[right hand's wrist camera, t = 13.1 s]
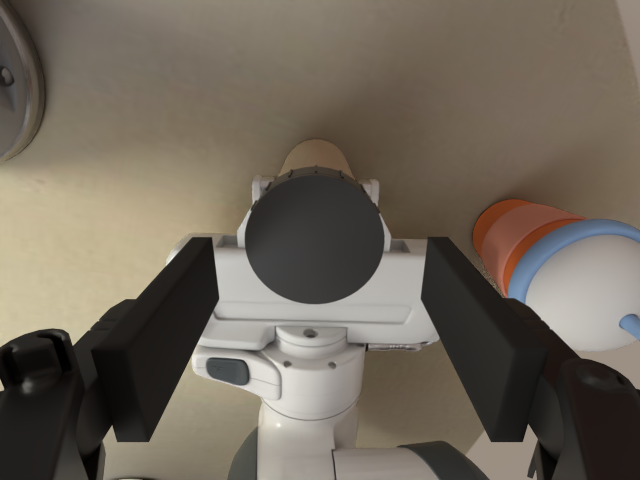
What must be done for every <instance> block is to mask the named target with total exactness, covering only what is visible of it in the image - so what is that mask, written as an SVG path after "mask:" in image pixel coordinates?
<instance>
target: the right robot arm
mask: <svg viewBox="0 0 640 480" xmlns="http://www.w3.org/2000/svg"><path fill="white" fill-rule="evenodd" d="M44 101H45V89H44V79H43V74H42V68H41V65H40V61H39V58H38V55H37V52H36V49H35V46H34V44H33V42H32V40H31V38H30V35H29V34H28V32H27V30H26V28H25V26H24V24H23V23H22V21H21V20H20V18H19V16H18V15H17V13H16V12H15V11H14V9H13V8H12V7H11V5H10V4H9V2H8V1H7V0H0V163H1V162H4V161H6V160H8V159H10V158H12V157H14V156H15V155H17V154H18V153H20V152H21V151H22V150H23V149H24V148H25V147H26V146H27V145H28V144H29V143H30V141H31V140H32V138H33V137H34V135H35V134H36V132H37V130H38V128H39V125H40V122H41V119H42V115H43V110H44ZM219 299H220V298H219V290H218V282H217V273H216V265H215V257H214V249H213V240H212V237H192V238H191V239H190V240H189V241H188V242H187V243H186V244H185V246H184V247H183V248H182V249H181V250H180V251H179V252H178V253H177V254H176V256H175V257H174V258H173V259H172V260H171V261H170V262H169V263H168V264H167V266H166V267H165V268H164V269H163V270H162V271H161V272H160V273H159V274H158V276H157V277H156V278H155V279H154V280H153V281H152V282H151V283H150V284H149V285H148V287H147V288H146V289H145V290H144V291H143V292H142V293H141V294H140V295H139V297H138V298H137V299H125V300H124V301H122V302H120V303H119V304H117V305H115V306H113V307H112V308H110V309H109V310H108V311H107V312H106V313H105V314H104V315H103V316H102V317H101V318H100V319H99V321H97V322H96V323H95V324H94V325H93V326H92V327H91V330H90V331H87V332H86V333H85V334H84V335H83V336H82V337H81V338H80V340H79V341H78V342H77V343H76V344H75V345H74V346H72V343H71V339H70V336H69V333H67V332H66V331H64V330H61V329H45V330H38V331H35V332H31V333H28V334H24V335H22V336H20V337H18V338H15V339H13V340H11V341H9V342H8V343H6V344H5V345H3V346H2V347H0V379H1V382H2V384H3V386H4V391H0V480H103V474H104V465H105V456H106V453H105V447H104V444H103V441H102V440H103V438H104V437H105V435H106V434H107V432H108V430H109V429H110V427H111V426H112V425H113V429H114V432H115V436H116V439H117V442H149V441H150V439H151V437H152V435H153V433H154V430H155V428H156V426H157V424H158V422H159V420H160V418H161V416H162V414H163V412H164V410H165V408H166V406H167V404H168V402H169V400H170V398H171V396H172V394H173V392H174V390H175V388H176V386H177V384H178V382H179V380H180V378H181V376H182V374H183V372H184V370H185V368H186V366H187V364H188V362H189V360H190V358H191V356H192V354H193V352H194V349H195V347H196V345H197V343H198V341H199V339H200V337H201V335H202V333H203V331H204V329H205V327H206V325H207V323H208V321H209V319H210V317H211V315H212V313H213V311H214V309H215V307H216V305H217V303H218V301H219ZM420 299H421V301H422V303H423V305H424V307H425V309H426V311H427V313H428V315H429V317H430V319H431V321H432V323H433V325H434V327H435V329H436V331H437V333H438V335H439V337H440V339H441V341H442V343H443V345H444V347H445V349H446V352H447V354H448V356H449V358H450V360H451V362H452V364H453V366H454V368H455V370H456V372H457V374H458V376H459V378H460V380H461V382H462V384H463V386H464V388H465V390H466V392H467V394H468V396H469V398H470V400H471V402H472V404H473V406H474V408H475V410H476V412H477V414H478V416H479V418H480V420H481V422H482V424H483V426H484V428H485V430H486V433H487V435H488V437H489V439H490V441H491V442H523V439H524V436H525V432H526V429H527V425H528V424H529V425H530V427H531V428H532V430H533V432H534V433H535V435H536V436H537V438H538V441H537V444H536V447H535V450H534V453H533V457H532V460H531V463H530V466H529V470H528V475H527V476H528V477H530V478H533V476H534V473H535V470H536V473H537V480H640V390H639V389H636V388H635V387H634V386H633V384H632V383H631V382H630V381H629V379H627V378H626V377H625V376H623V375H622V374H621V373H619V372H618V371H616V370H614V369H612V368H611V367H609V366H607V365H605V364H602V363H599V362H596V361H593V360H589V359H582V358H580V357H579V356H578V355H577V354H576V353H575V352H574V351H573V350H572V349H571V348H570V347H569V346H568V345H567V344H566V343H565V342H564V341H563V340H562V339H561V338H560V337H559V336H558V335H557V334H556V333H555V332H554V331H553V330H552V329H550V327H549V326H548V325H547V324H546V323H545V322H544V321H543V320H541V318H540V317H539V316H538V315H537V314H536V313H535V312H534V311H533V310H532V309H531V308H530V307H529V306H527V305H525V304H524V303H522V302H520V301H519V300H517V299H515V298H502V297H501V295H500V294H499V293H498V292H497V291H496V290H495V289H494V288H493V287H492V285H491V284H490V283H489V282H488V281H487V280H486V279H485V278H484V277H483V276H482V274H481V273H480V272H479V271H478V270H477V269H476V268H475V267H474V266H473V264H472V263H471V262H470V261H469V260H468V259H467V258H466V257H465V256H464V254H463V253H462V252H461V251H460V250H459V249H458V248H457V247H456V246H455V244H454V243H453V242H452V241H451V240H450V239H449V238H448V237H428V240H427V249H426V257H425V265H424V273H423V282H422V290H421V298H420Z"/></svg>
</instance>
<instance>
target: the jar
mask: <svg viewBox="0 0 640 480" xmlns="http://www.w3.org/2000/svg"><path fill="white" fill-rule="evenodd" d="M315 165H317V167H326V168H331V169H335V170H338V171H340V170H342V172H343V173H345V174H347V175H348V176H350V177H351V178H353V179H354V177H353V175H352V172H351V170H350V168H349V165H348V163H347V161H346V158H345V156H344V154H343V153H342V152H341V150H340V149H339V148H338V147H336V146H335V145H334V144H332V143H330V142H328V141H325V140H321V139H311V140H307V141H304V142H301V143H300V144H298V145H297V146H295V147H294V148H293V149H292V150H291V152H290V153H289V155H288V156H287V158H286V160H285V162H284V165H283V167H282V169H281V171H280V173H279V175H278V177H279V176H281V175H283V174H285V173H287V172H289V171H290V169H293V170H294V169H298V168H302V167H311V166H315ZM278 177H277V178H278ZM354 180H355V179H354Z"/></svg>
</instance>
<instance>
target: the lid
mask: <svg viewBox="0 0 640 480" xmlns="http://www.w3.org/2000/svg"><path fill="white" fill-rule="evenodd" d="M250 211H252V212H251V213H250V216H249V218H248V221H247V224H246V229H245V239H244V240H245V250H246V255H247V258H248V261H249V263H250V265H251V267H252V269H253V271H254V273H255V274H256V276H257V277H258V278H259V279H260V281H261V282H262V283H263V284H264V285H265V286H267V287H268V288H269V289H270V290H271V291H273V292H274V293H276V294H277V295H279V296H281V297H283V298H286V299H288V300H291V301H294V302H298V303H303V304H327V303H331V302H336V301H338V300H341V299H344V298H346V297H348V296H350V295H352V294H353V293H355V292H357V291H358V290H359V289H361V288H362V287H363V286H364V285H365V284H366V283H367V282H368V281H369V280H370V279H371V277H372V276H373V275H374V273H375V272H376V270H377V268H378V266H379V264H380V261H381V259H382V255H383V251H384V243H385V238H384V237H385V235H384V229H383V224H382V221H381V218H380V216H379V214H380V211H379V209H378V207H377V206H376V204H375V203H373V202H372V200H371V198H370V196H369V195H368V193H367V192H366V190H365V188H364V186H363V184H362V183H361V184H359V183H358V182H357V181H355V180H354V179H353V178H351V177H350V176H348V175H347V174H345V173H343V172H342V170H340V171H338V170H335V169H331V168H326V167H317V165H315V166H311V167H302V168H298V169H294V170H293V169H290V171H289V172H287V173H285V174H283V175H281V176H279V177H278V178H277V179H275V180H274V181H273V182H271V181H270V182H269V183H268V185H267V187H266V189H265V190H264V191H263V192H262V194H261V195H260V197H259V199H258V201H257V200H256V201H255V202H254V204H253V206H252V208H251V209H250Z"/></svg>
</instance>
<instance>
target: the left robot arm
mask: <svg viewBox="0 0 640 480" xmlns="http://www.w3.org/2000/svg"><path fill="white" fill-rule="evenodd" d="M275 179H277V177H275V176H255V177H254V178H253V181H252V202H253V204H254V202H255V201H256V200H257V201H258V199H259V197H260V195H261V194H262V192H263V191H264V190H265V189H266V187H267V185H268V183H269V182H270V181H271V182H273V181H274V180H275ZM355 181H357V182H358V183H359V184H361V183H362V184H363V186H364V188H365V190H366V192H367V193H368V195H369V196H370V198H371V200H372V202H373V203H375V204H376V206H377V207H378V199H379V182H378V181H377V179H355ZM253 204H252V206H253ZM252 206H251V208H252ZM251 208H250V209H251ZM250 209H249V211H248V213H247V215H246V217H245V218H244V220H243V222H242V224H241V225H240V227H239V229H238V231H237V234H215V233H189V234H187V235H186V236H185V237H184V238H183V239H182V240H181V241H180V242H179V243H177V245H176V246H175V247H174V248H173V249H172V251H171V252H170V254H169V255H168V257H167V260H166V266H167V264H168V263H169V262H170V261H171V260H172V259H173V258H174V257H175V256H176V254H177V253H178V252H179V251H180V250H181V249H182V248H183V247H184V246H185V244H186V243H187V242H188V241H189V240H190V239H191V238H192V237H212V240H213V249H214V257H215V265H216V273H217V282H218V290H219V298H220V299H219V301H218V303H217V305H216V307H215V309H214V311H213V313H212V315H211V317H210V319H209V321H208V323H207V325H206V327H205V329H204V331H203V333H202V335H201V337H200V339H199V341H198V343H197V345H196V347H195V349H194V352H193V356H192V368H193V370H194V372H195V373H196V374H197V375H199V376H201V377H204V378H207V379H211V380H215V381H218V382H222V383H226V384H229V385H232V386H235V387H238V388H241V389H244V390H247V391H249V392H252V393H254V394H256V395H258V396H260V397H261V400H262V404H261V408H260V412H259V427H256V428H255V429H254V430H253V431H252V432H251V433H250V435H249V436H248V437H247V439H246V440H245V442H244V443H243V445H242V446H241V447H240V449H239V450H238V452H237V453H236V455H235V457H234V460H233V462H232V465H231V468H230V472H229V475H228V479H227V480H489V478H488V477H487V476H486V475H485V474H484V473H483V472H482V471H481V470H480V469H479V468H478V467H477V466H476V465H475V464H474V463H473V462H472V461H471V460H469V459H468V458H467V457H466V456H465V455H463V454H462V453H461V452H460V451H458V450H457V449H455V448H454V447H453V446H451V445H450V444H448V443H447V442H444V441H434V442H425V443H416V444H408V445H400V446H397V447H396V448H355V445H356V438H357V430H358V412H357V407H356V404H357V401H358V399H359V397H360V394H361V389H362V381H363V371H364V361H365V352H366V351H392V350H404V351H407V352H416V351H421V349H422V347H425V346H428V345H431V344H432V343H434V342H436V341H438V340H439V339H440V337H439V335H438V333H437V331H436V329H435V327H434V325H433V323H432V321H431V319H430V317H429V315H428V313H427V311H426V309H425V307H424V305H423V303H422V301H421V299H420V298H421V290H422V282H423V273H424V265H425V257H426V249H427V240H428V239H392V238H391V234H390V232H389V230H388V228H387V226H386V224H385V222H384V220H383V218H382V216H381V214H379V216H380V218H381V221H382V224H383V229H384V235H385V237H384V238H385V243H384V251H383V255H382V259H381V261H380V264H379V266H378V268H377V270H376V272H375V273H374V275H373V276H372V277H371V279H370V280H369V281H368V282H367V283H366V284H365V285H364V286H363V287H362V288H361V289H359V290H358V291H357V292H355V293H353V294H352V295H350V296H348V297H346V298H344V299H341V300H338V301H336V302H331V303H327V304H303V303H298V302H294V301H291V300H288V299H286V298H283V297H281V296H279V295H277V294H276V293H274V292H273V291H271V290H270V289H269V288H268V287H267V286H265V285H264V284H263V283H262V282H261V281H260V279H259V278H258V277H257V276H256V274H255V273H254V271H253V269H252V267H251V265H250V263H249V261H248V258H247V255H246V250H245V240H244V239H245V229H246V224H247V221H248V218H249V216H250V213H251V212H252V211H250ZM121 480H141V479H121Z"/></svg>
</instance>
